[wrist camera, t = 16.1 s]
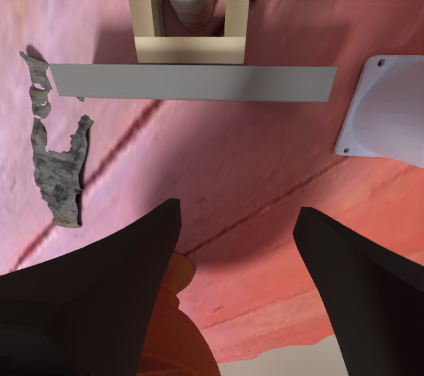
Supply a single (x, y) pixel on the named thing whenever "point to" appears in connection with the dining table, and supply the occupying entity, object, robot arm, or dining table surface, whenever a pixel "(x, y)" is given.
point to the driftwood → (55, 153)
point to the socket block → (188, 46)
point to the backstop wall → (195, 82)
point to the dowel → (193, 12)
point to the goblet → (175, 331)
